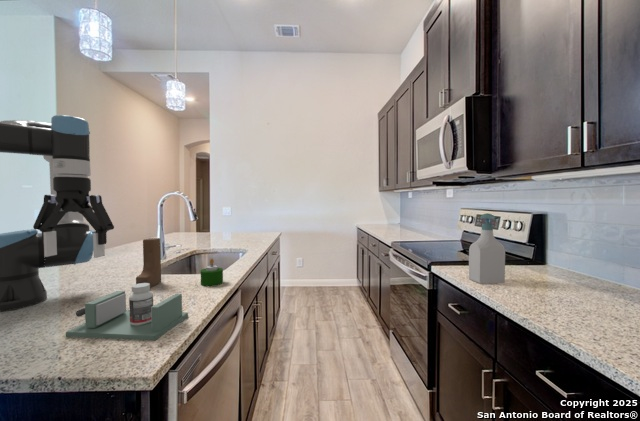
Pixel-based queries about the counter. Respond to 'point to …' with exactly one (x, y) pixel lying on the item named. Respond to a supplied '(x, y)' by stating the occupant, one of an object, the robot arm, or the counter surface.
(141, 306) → the pill bottle
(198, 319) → the counter surface
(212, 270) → the candle
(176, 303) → the vise
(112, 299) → the sliding jaw
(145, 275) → the wooden block
